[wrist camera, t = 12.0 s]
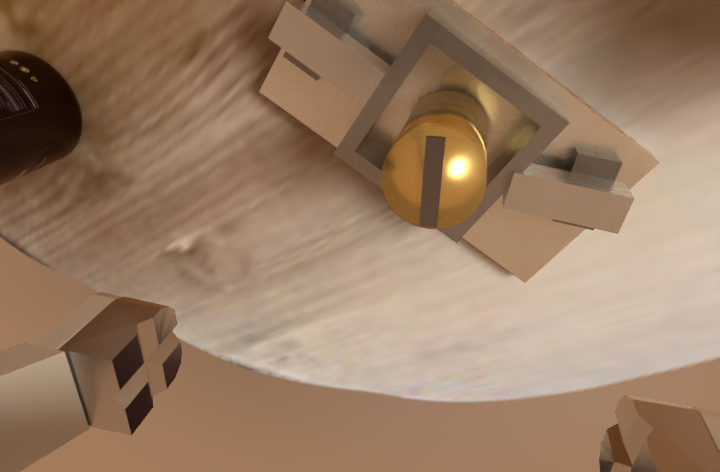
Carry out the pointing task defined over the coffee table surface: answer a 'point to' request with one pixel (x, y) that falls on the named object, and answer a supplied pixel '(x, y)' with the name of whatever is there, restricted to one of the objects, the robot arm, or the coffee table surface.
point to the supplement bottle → (34, 115)
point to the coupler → (438, 162)
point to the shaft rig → (483, 84)
